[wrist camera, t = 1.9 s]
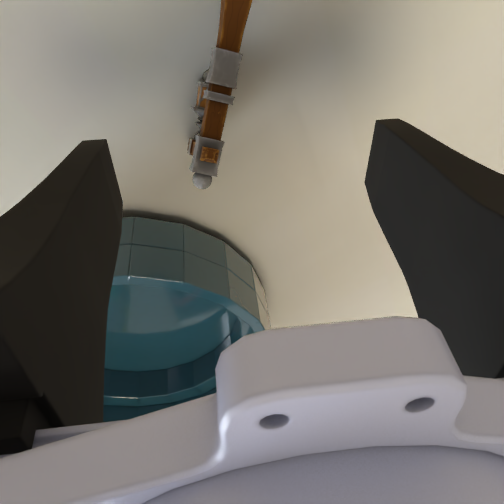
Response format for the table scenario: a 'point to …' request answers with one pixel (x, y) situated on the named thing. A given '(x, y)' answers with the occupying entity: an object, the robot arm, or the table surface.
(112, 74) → the table surface
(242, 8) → the wooden post with brackets
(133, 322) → the bowl
